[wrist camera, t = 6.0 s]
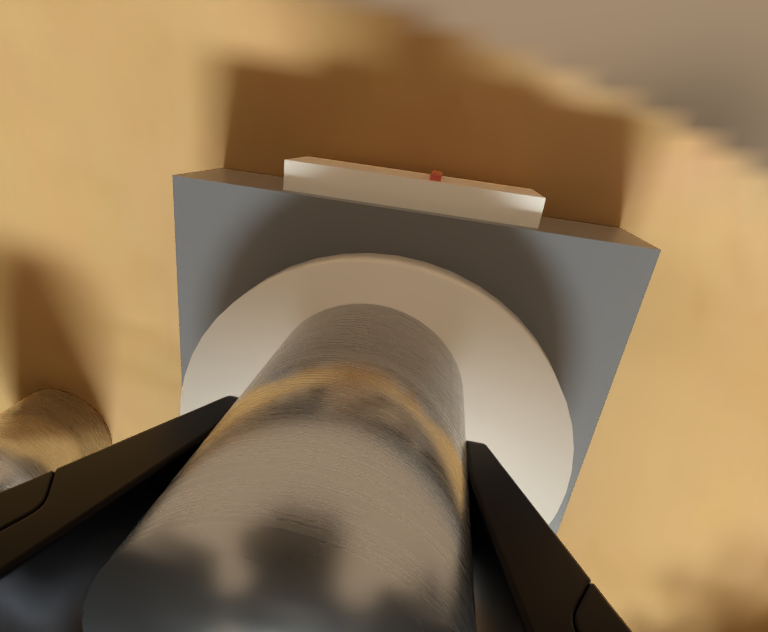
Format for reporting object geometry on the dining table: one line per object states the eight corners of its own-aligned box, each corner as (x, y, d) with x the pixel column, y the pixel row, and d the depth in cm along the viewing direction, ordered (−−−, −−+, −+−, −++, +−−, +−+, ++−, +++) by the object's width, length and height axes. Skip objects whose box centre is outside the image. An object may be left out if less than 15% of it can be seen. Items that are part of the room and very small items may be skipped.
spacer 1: (29, 461, 22) (-116, 572, 16) (12, 380, 20) (-155, 474, 14) (116, 479, 21) (-1, 599, 16) (106, 399, 20) (-28, 502, 14)
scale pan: (201, 530, 16) (186, 554, 15) (192, 222, 12) (170, 229, 11) (513, 597, 15) (517, 627, 14) (618, 290, 11) (633, 304, 10)
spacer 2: (270, 452, 12) (104, 747, 6) (276, 287, 10) (54, 484, 4) (444, 487, 11) (439, 831, 6) (481, 322, 10) (527, 583, 4)
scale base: (224, 473, 20) (188, 526, 17) (222, 137, 15) (170, 138, 12) (520, 534, 19) (531, 601, 16) (630, 197, 14) (674, 212, 11)
